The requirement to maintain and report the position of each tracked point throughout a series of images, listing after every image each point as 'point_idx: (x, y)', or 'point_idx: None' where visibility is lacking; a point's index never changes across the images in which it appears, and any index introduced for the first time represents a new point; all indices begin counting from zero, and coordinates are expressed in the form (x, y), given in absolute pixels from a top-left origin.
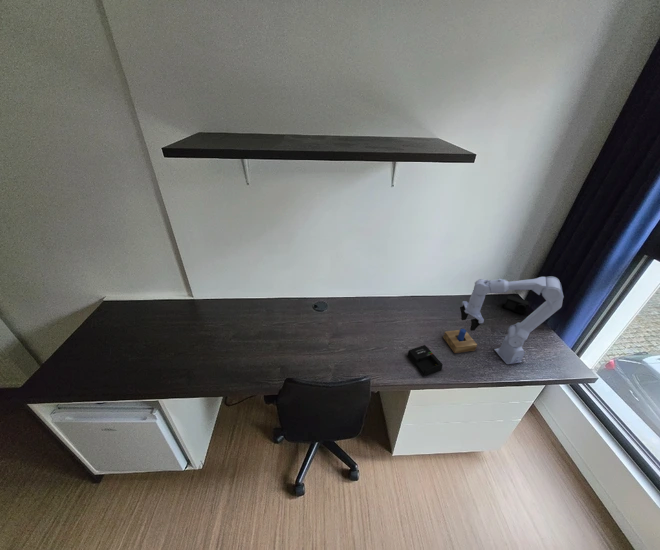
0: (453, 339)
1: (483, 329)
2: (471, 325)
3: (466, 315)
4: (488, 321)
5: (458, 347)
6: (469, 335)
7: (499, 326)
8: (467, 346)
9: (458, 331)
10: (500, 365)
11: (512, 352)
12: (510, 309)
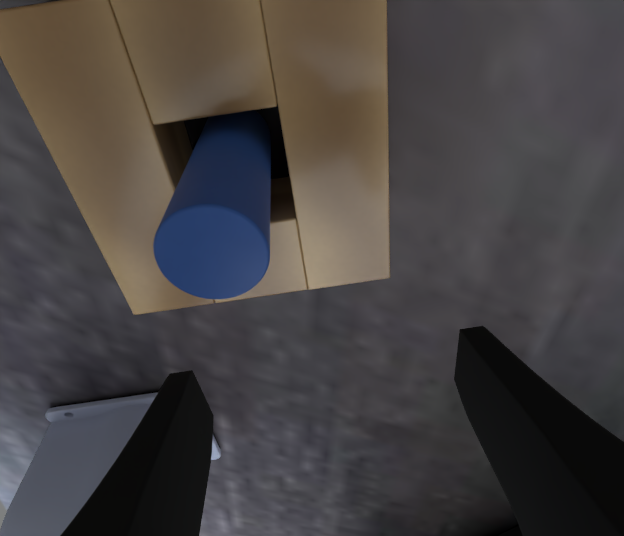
0: (182, 41)
1: (406, 391)
2: (128, 492)
3: (506, 469)
4: (471, 435)
5: (2, 55)
6: (282, 291)
7: (412, 465)
8: (79, 203)
9: (361, 194)
10: (22, 372)
11: (20, 526)
12: (518, 531)
